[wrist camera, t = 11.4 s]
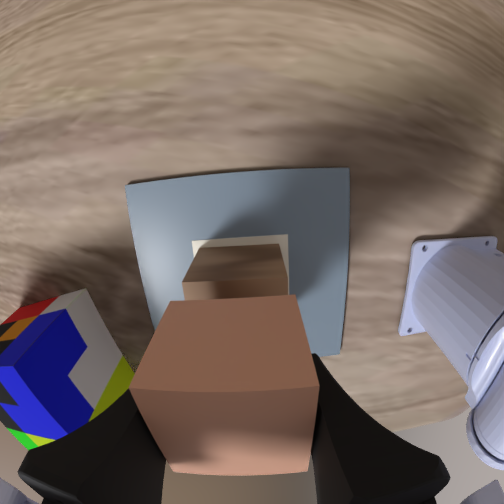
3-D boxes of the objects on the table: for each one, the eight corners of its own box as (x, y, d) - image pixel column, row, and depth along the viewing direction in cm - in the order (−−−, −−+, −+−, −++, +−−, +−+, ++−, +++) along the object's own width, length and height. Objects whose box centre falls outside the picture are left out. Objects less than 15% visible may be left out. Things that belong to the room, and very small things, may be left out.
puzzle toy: (86, 287, 20) (12, 366, 11) (140, 382, 23) (106, 470, 14) (19, 307, 21) (-41, 365, 12) (68, 385, 24) (30, 451, 15)
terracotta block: (295, 294, 11) (319, 385, 7) (294, 384, 13) (307, 471, 8) (170, 300, 11) (128, 387, 7) (192, 387, 13) (173, 471, 8)
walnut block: (279, 243, 18) (287, 277, 14) (280, 312, 20) (287, 359, 15) (199, 247, 18) (181, 282, 14) (208, 315, 20) (197, 362, 15)
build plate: (347, 167, 17) (349, 167, 17) (338, 351, 22) (339, 354, 21) (127, 184, 17) (124, 185, 17) (165, 359, 22) (164, 363, 22)
